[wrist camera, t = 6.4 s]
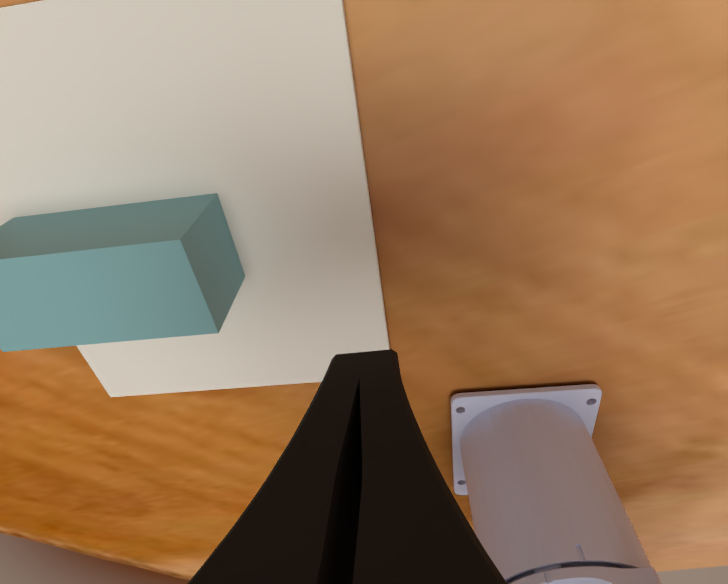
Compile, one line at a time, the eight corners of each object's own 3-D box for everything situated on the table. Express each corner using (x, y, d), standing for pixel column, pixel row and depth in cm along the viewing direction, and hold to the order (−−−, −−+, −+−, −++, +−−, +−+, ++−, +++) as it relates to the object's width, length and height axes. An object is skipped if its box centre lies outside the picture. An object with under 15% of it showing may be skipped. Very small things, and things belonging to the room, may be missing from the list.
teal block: (218, 333, 17) (2, 351, 18) (245, 276, 20) (62, 294, 21) (179, 239, 14) (-65, 266, 15) (217, 193, 18) (13, 217, 19)
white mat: (392, 368, 24) (392, 376, 23) (115, 389, 25) (110, 397, 25) (336, -50, 14) (335, -51, 13) (-116, 29, 15) (-133, 30, 15)
